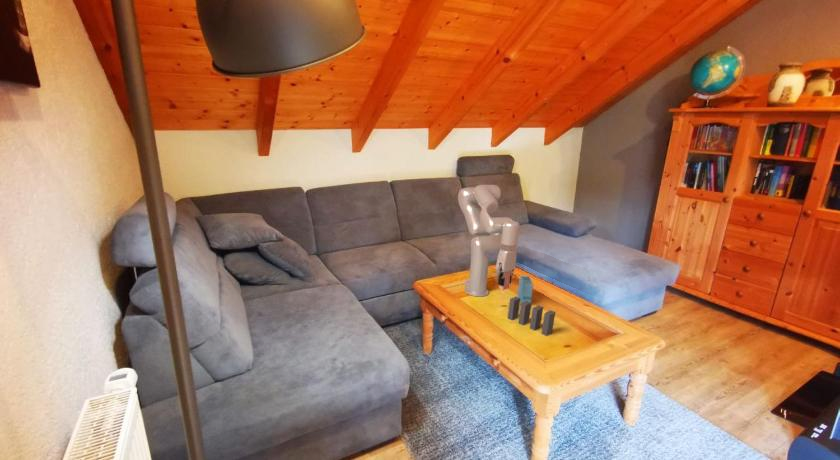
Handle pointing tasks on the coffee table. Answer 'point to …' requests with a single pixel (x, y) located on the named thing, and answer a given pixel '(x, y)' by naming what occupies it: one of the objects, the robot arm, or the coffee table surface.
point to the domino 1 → (506, 280)
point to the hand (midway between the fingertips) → (504, 283)
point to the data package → (525, 289)
